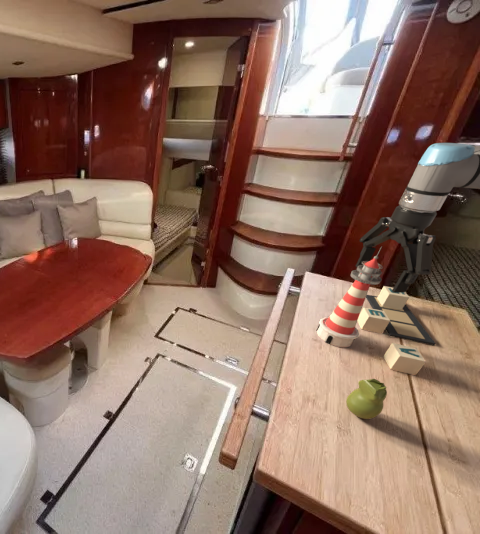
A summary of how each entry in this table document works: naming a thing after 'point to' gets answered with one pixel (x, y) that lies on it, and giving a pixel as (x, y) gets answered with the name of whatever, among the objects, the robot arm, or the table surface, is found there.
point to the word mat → (402, 323)
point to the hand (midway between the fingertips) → (378, 278)
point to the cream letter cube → (404, 359)
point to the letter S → (392, 298)
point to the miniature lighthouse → (350, 307)
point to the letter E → (373, 320)
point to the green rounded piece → (367, 399)
